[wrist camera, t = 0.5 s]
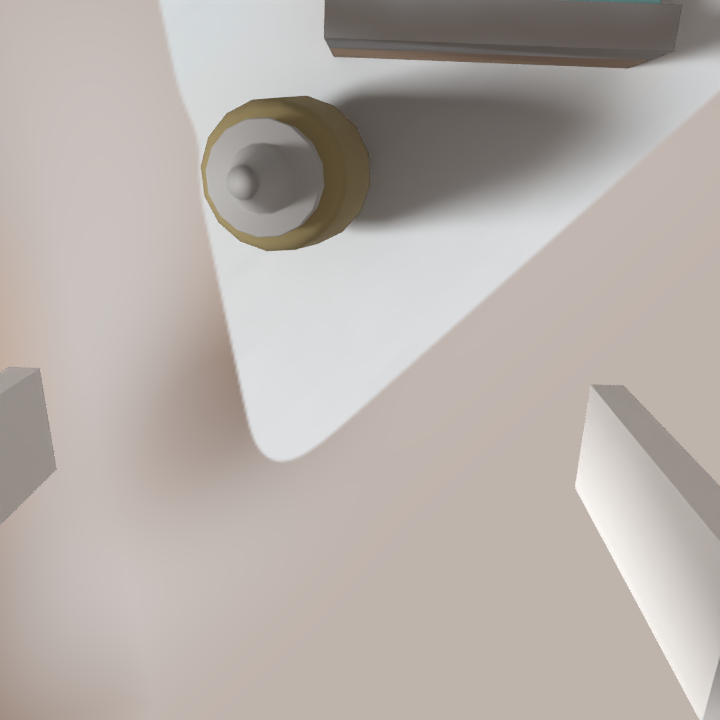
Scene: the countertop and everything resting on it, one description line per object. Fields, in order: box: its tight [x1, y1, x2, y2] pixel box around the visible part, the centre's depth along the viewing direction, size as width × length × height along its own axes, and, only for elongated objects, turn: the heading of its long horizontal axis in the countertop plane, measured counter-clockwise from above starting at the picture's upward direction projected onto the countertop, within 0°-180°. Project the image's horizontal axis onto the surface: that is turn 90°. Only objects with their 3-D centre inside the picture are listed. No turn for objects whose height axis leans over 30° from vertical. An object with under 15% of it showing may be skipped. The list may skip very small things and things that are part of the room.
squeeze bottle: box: [201, 96, 370, 251], centre depth 30 cm, size 8×8×18 cm
